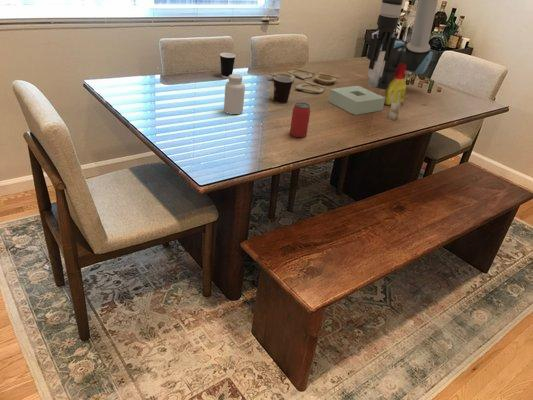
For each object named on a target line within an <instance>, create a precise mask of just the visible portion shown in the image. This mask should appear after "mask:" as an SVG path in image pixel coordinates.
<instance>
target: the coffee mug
mask: <svg viewBox="0 0 533 400" xmlns="http://www.w3.org/2000/svg"><path fill="white" fill-rule="evenodd" d="M293 81H294V79H291V78H289V77H285V76H276V77H274V76H273V101H274V102H275V103H279V104H286V103H288V101H289V97H290V93H291V90H292V85H293Z"/></svg>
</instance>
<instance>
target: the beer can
mask: <svg viewBox="0 0 533 400" xmlns="http://www.w3.org/2000/svg"><path fill="white" fill-rule="evenodd" d="M310 115H311V107H310V104H309V103H306V102H300V101H299V102H296V103H294V106H293V109H292V113H291V119H290V120H291V121H290V129H289V134H290V135H291V136H293V137H294V138H295V137H296V138H304V137H306V136H307V135H308V129H309V128H308V127H309V122H310Z"/></svg>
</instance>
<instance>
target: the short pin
mask: <svg viewBox="0 0 533 400" xmlns="http://www.w3.org/2000/svg"><path fill="white" fill-rule="evenodd" d="M401 106H402V103H399V102H392V104H391V105H390V108H389V112H388V116H387V119H389V120H392V121H396V120H397V119H398V116H399V112H400V109H401Z"/></svg>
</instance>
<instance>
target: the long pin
mask: <svg viewBox="0 0 533 400" xmlns="http://www.w3.org/2000/svg"><path fill="white" fill-rule="evenodd" d="M385 53H386V51H385V50H382V49H380V51H379V54H378V57H377V60H376V61H377V66H376V70H375V74H374V78H371V77H369V76H368V77H369V78H368V82H367V86H369V87H375V88H377V86H378V81H379V77H380V73H381V69H382V65H383V61H384V57H385Z"/></svg>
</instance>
